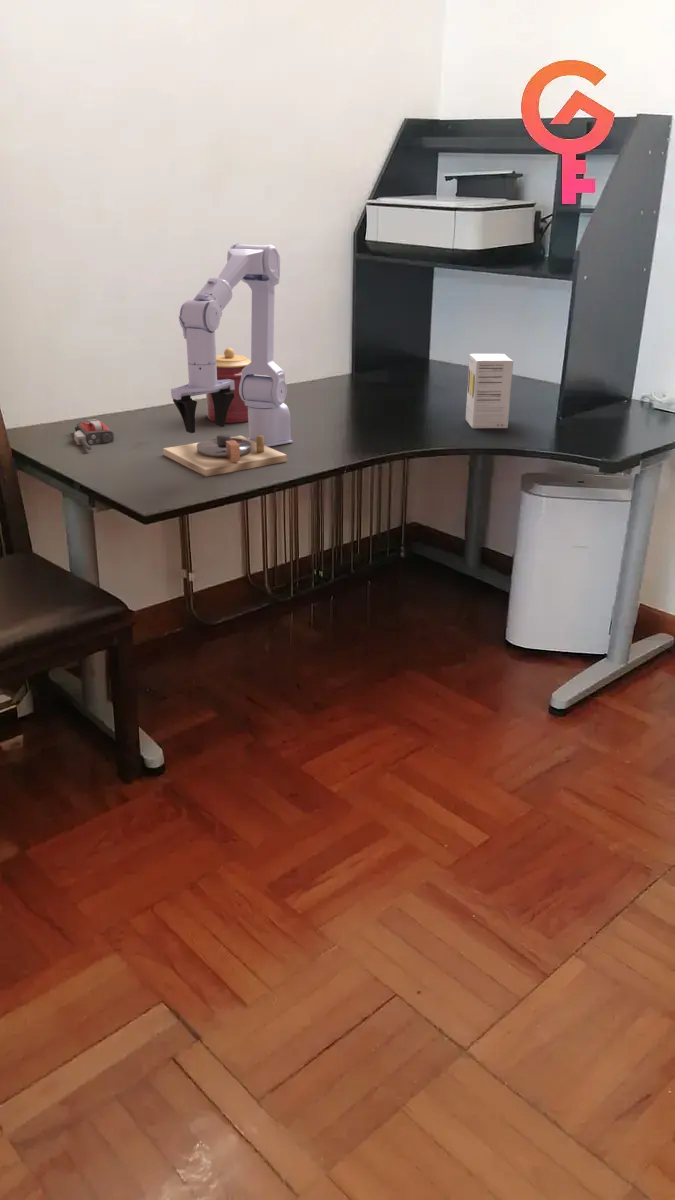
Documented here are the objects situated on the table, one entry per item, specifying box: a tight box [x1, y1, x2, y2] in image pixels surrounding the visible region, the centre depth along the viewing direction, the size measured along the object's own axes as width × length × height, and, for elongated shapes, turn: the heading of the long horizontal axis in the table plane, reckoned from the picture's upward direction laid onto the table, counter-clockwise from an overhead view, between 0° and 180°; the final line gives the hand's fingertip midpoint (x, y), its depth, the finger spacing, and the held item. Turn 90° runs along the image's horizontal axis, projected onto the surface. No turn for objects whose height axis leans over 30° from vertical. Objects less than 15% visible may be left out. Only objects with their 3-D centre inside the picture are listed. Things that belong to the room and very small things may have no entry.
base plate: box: [162, 433, 288, 478], centre depth 209 cm, size 20×20×5 cm
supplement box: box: [465, 353, 514, 429], centre depth 236 cm, size 10×9×17 cm
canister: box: [205, 347, 251, 424], centre depth 241 cm, size 13×13×18 cm
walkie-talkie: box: [73, 418, 115, 451], centre depth 222 cm, size 9×4×20 cm
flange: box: [197, 437, 251, 462], centre depth 207 cm, size 16×12×4 cm
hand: (205, 429), depth 196 cm, fingers open, 7 cm apart
